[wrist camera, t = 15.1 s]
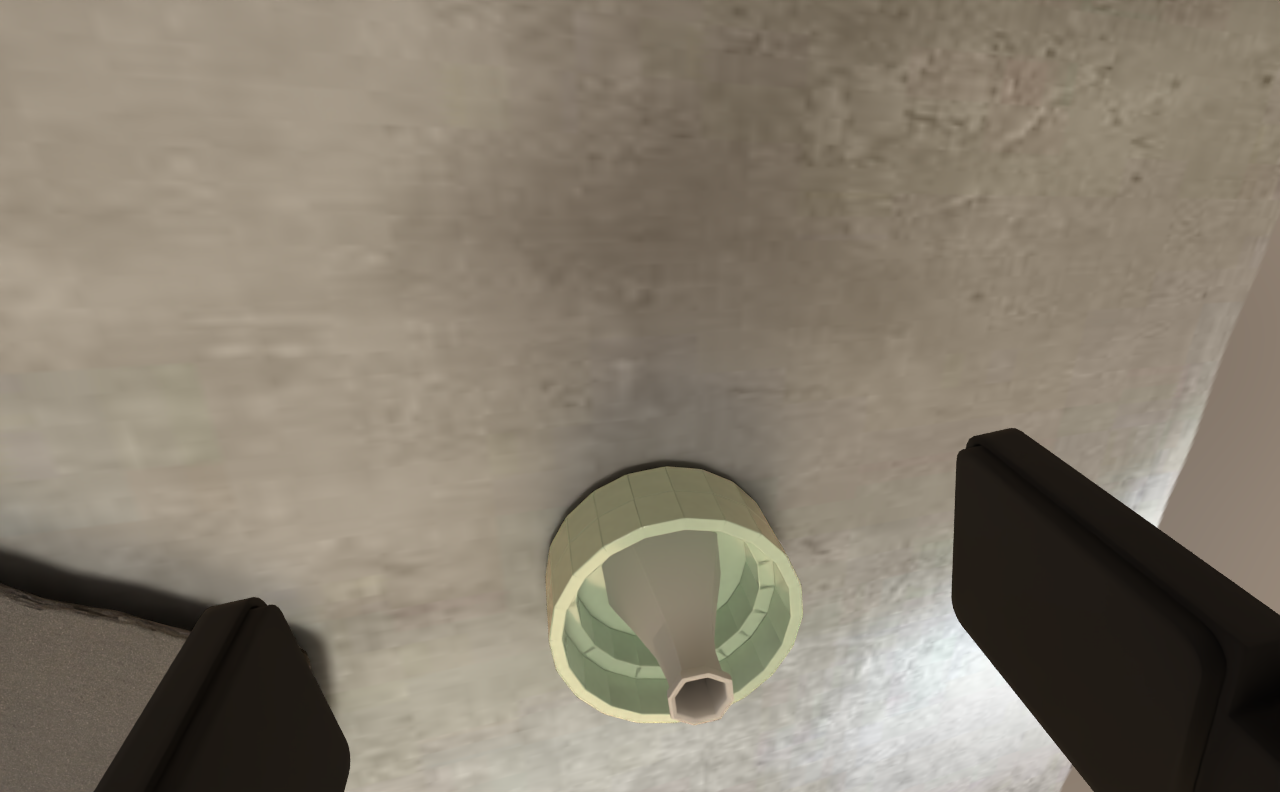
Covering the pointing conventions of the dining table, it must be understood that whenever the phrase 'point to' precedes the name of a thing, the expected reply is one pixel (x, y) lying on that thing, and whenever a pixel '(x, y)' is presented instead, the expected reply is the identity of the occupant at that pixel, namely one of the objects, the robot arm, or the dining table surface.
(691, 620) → the flask
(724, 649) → the basin
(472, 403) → the dining table surface
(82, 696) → the serving tray
